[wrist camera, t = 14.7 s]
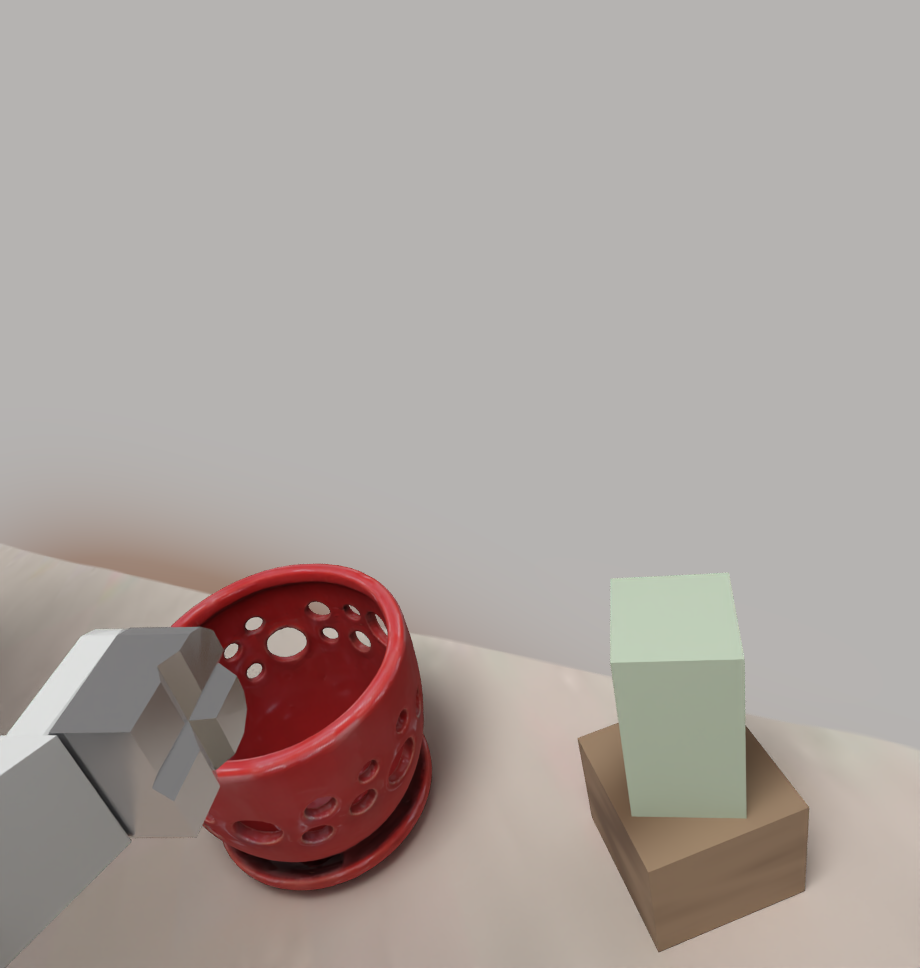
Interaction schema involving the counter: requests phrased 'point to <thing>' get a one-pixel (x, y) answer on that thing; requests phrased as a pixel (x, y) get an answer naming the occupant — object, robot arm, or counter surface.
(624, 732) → the sage brick
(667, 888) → the walnut base
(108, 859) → the robot arm
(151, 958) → the counter surface
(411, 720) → the plant pot
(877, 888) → the counter surface
